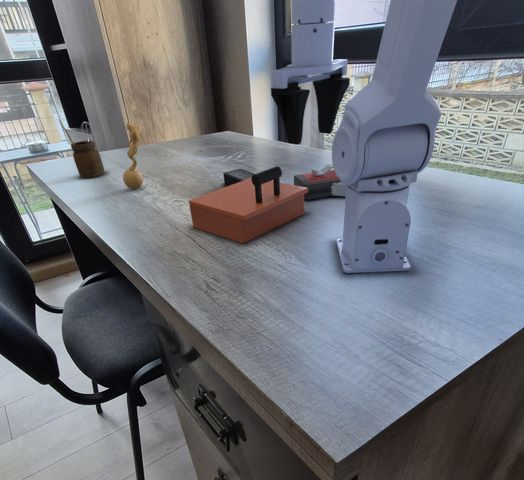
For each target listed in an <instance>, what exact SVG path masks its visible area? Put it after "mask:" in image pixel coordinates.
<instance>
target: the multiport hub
mask: <svg viewBox="0 0 524 480" xmlns="http://www.w3.org/2000/svg"><path fill="white" fill-rule="evenodd" d="M222 174H223V182H224V185H225V186H226V187H227V186H230V185H233V184H236V183H238V182H241V181H244V180H247V179H249V178H252V175H254V174H255V173H254V172H252V171H249V170H246V169H244V168H237V169H233V170H229V171H225V172H222Z"/></svg>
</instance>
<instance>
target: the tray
mask: <svg viewBox="0 0 524 480" xmlns="http://www.w3.org/2000/svg"><path fill="white" fill-rule="evenodd" d="M189 210H190V211H189V212H190V216H191V222H192V226H193V228H195V229H197V230H201V231H203V232H206V233H209V234H213V235H216V236H219V237H221V238H225V239H228V240H230V241H233V242H236V243H239V244H245V243H248V242H249V241H251V240H253V239H255V238H258V237H260V236H262V235H264V234H266V233H267V232H270V231H272V230H274V229H275V228H276V229H277V228H278V227H280V226H282V225H284V224H285V223H288V222H290V221H292V220H294V219H296V218H298V217H300V216H302V215H304V214H305V199H304V194H303V195H301V196H299V197H296V198H294V199H292V200H290V201H287V202H285V203H283V204H281V205H278V206H276V207H274V208H272V209H270V210H267V211H265V212H263V213H261V214H258V215H256V216H254V217H252V218H249V219H247V220H245V221H244V220H240V219H237V218H233V217H230V216H226V215H223V214H219V213H216V212H212V211H209V210H205V209H202V208H198V207H195V206H191V205H189Z"/></svg>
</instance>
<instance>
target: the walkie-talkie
mask: <svg viewBox="0 0 524 480" xmlns="http://www.w3.org/2000/svg"><path fill="white" fill-rule="evenodd" d="M293 185H295V186H300V187H306V188H308V193H305V194H304V200H308V201H310V200H314V199H321V198H328V197H346V185H345V184H343V183H342V182H341V181H340V179H339V178H338V177H337V175H336V173H335V170H334V167H333V163H328V164H326V165H324V167H323V168H322V169H321V170H319V169H318V168H315V167H314V168H313V167H312V168H311V172H308V173H301V174H295V175H293Z"/></svg>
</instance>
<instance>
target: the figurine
mask: <svg viewBox="0 0 524 480" xmlns="http://www.w3.org/2000/svg"><path fill="white" fill-rule="evenodd" d="M126 130H128V131H129V132H128V135H129V141H128V143H127V148H128V150H127V153H126V155H127V157H128V158H129V159H130V160H131V161H132V164H131V166H129V167H128V169H126V170H125V171H124V172H123V173H122V181H123V183H124V185H125V186H126V187H127V188H129V189H131V190H138V189H140V188H141V187H142V186H143V183H144V176H143V175H142V173H141V172H140V170H138V169H136V167H137V165H138V161H137V158H136V157H135V156H137V155H138V148H139V145H140V141H141V138H142V135H143V129H142V127H141V126H140V125H137V124H136V125H135V124H132V123H130V122H127V123H126Z"/></svg>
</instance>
